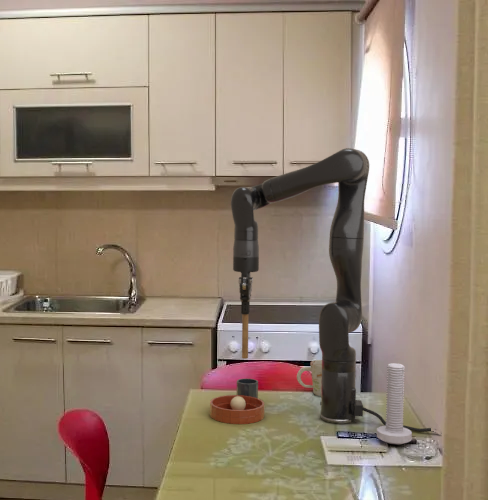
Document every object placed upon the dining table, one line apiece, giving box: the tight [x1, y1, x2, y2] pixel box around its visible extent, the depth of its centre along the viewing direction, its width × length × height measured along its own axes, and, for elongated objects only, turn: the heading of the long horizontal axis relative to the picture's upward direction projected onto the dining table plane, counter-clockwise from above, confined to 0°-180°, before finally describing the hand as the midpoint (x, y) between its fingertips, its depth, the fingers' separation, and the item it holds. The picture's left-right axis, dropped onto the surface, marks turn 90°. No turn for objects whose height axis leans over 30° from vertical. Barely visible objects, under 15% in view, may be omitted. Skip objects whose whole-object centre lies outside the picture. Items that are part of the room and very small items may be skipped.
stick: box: [241, 313, 249, 360], centre depth 205 cm, size 2×2×18 cm
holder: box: [236, 378, 259, 399], centre depth 208 cm, size 6×6×7 cm
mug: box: [296, 359, 322, 397], centre depth 219 cm, size 8×13×10 cm, turn 78°
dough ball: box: [231, 396, 246, 410], centre depth 199 cm, size 4×4×4 cm
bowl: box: [209, 394, 265, 425], centre depth 195 cm, size 15×15×4 cm
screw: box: [376, 362, 413, 446], centre depth 175 cm, size 8×8×20 cm
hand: (245, 313), depth 204 cm, fingers closed on stick, 2 cm apart
